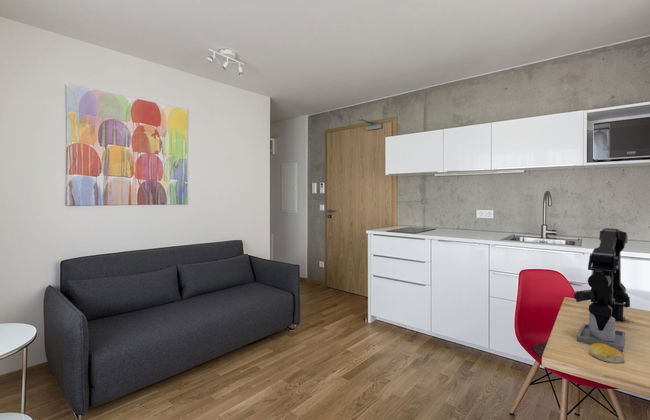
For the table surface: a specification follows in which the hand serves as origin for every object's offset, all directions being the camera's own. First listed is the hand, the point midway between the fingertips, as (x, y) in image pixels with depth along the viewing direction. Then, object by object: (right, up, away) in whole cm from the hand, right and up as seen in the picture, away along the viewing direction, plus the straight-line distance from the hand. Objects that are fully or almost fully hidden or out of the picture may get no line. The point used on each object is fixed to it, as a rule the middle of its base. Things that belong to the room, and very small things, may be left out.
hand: (601, 327), depth 122 cm
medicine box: (0, -4, 0) cm, 4 cm away
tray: (0, -5, 0) cm, 5 cm away
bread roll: (-10, -5, -14) cm, 18 cm away
